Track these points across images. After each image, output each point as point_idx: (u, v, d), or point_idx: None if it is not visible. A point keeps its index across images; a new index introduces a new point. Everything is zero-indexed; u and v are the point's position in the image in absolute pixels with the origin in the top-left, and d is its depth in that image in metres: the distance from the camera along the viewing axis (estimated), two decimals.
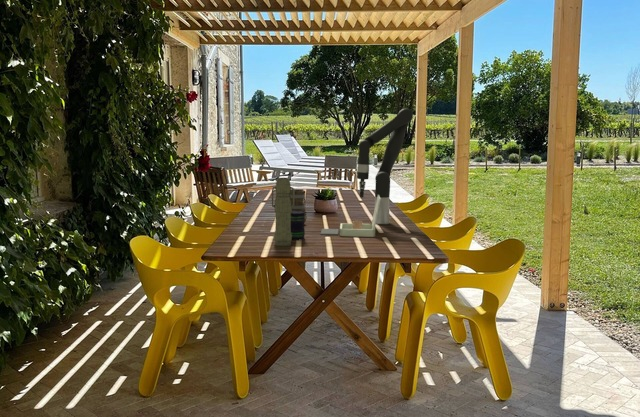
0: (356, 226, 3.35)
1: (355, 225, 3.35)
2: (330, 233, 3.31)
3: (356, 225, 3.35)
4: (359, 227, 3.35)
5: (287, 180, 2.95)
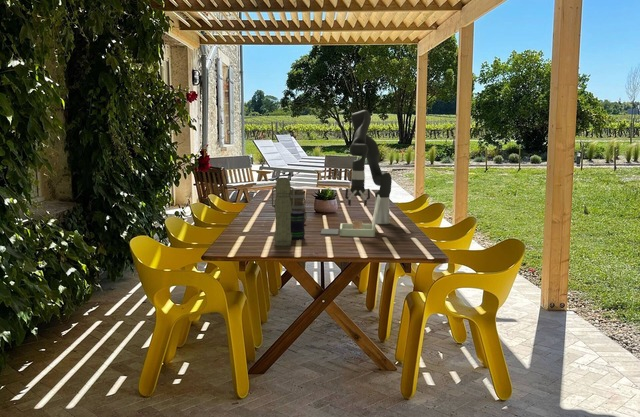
0: (356, 226, 3.35)
1: (355, 225, 3.35)
2: (330, 233, 3.31)
3: (356, 225, 3.35)
4: (359, 227, 3.35)
5: (287, 180, 2.95)
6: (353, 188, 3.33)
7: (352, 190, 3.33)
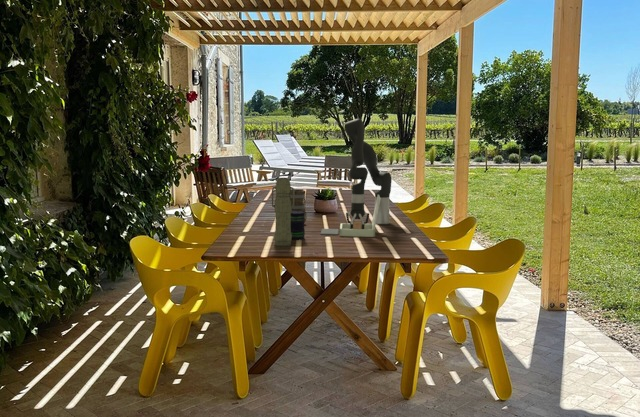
0: (356, 226, 3.35)
1: (355, 225, 3.35)
2: (330, 233, 3.31)
3: (356, 225, 3.35)
4: (359, 227, 3.35)
5: (287, 180, 2.95)
6: (353, 211, 3.35)
7: (352, 213, 3.35)
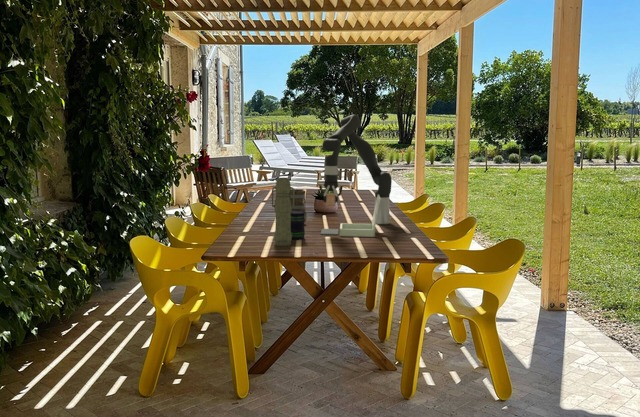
0: (329, 198, 3.33)
1: (328, 197, 3.33)
2: (330, 233, 3.31)
3: (329, 197, 3.33)
4: (332, 199, 3.33)
5: (287, 180, 2.95)
6: (326, 183, 3.33)
7: (325, 185, 3.34)
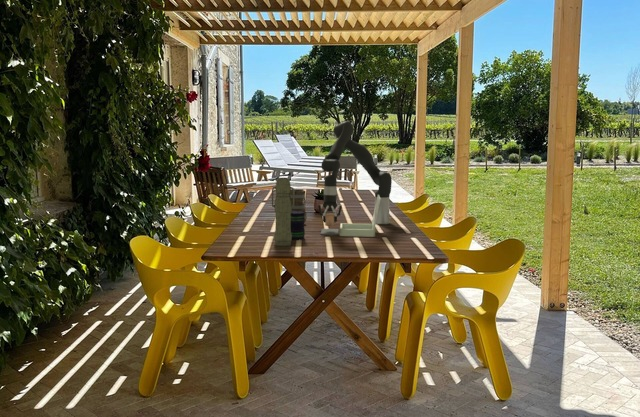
0: (328, 218, 3.35)
1: (327, 217, 3.35)
2: (330, 233, 3.31)
3: (328, 217, 3.35)
4: (331, 219, 3.35)
5: (287, 180, 2.95)
6: (325, 203, 3.35)
7: (324, 205, 3.36)
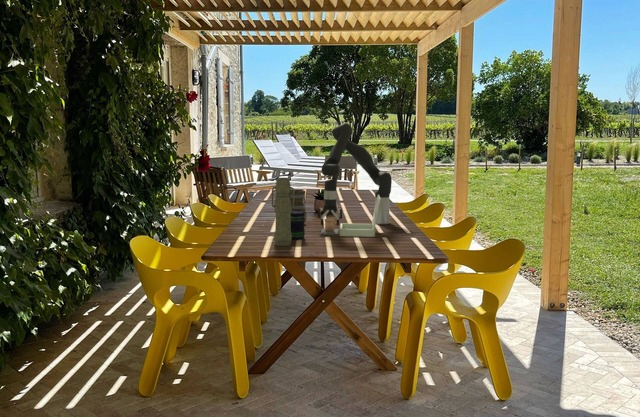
0: (328, 224, 3.35)
1: (327, 223, 3.36)
2: (330, 233, 3.31)
3: (328, 223, 3.35)
4: (331, 225, 3.36)
5: (287, 180, 2.95)
6: (325, 208, 3.36)
7: (324, 210, 3.36)
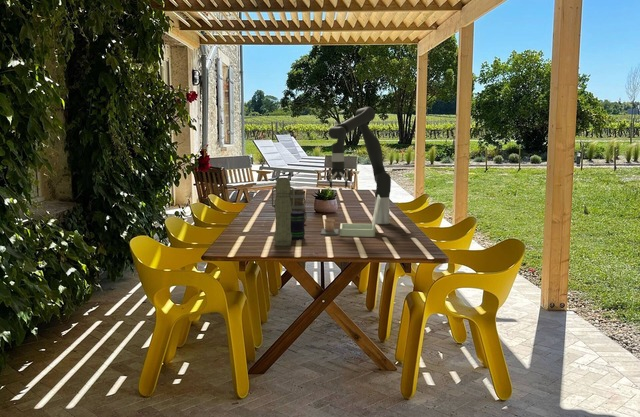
0: (328, 224, 3.35)
1: (327, 223, 3.36)
2: (330, 233, 3.31)
3: (328, 223, 3.35)
4: (331, 225, 3.36)
5: (287, 180, 2.95)
6: (334, 170, 3.44)
7: (333, 172, 3.44)
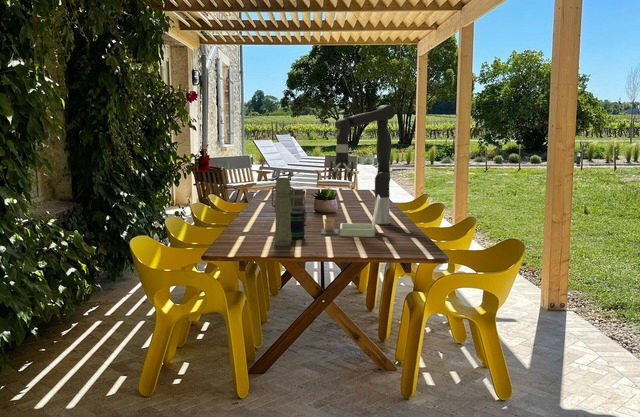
0: (328, 224, 3.35)
1: (327, 223, 3.36)
2: (330, 233, 3.31)
3: (328, 223, 3.35)
4: (331, 225, 3.36)
5: (287, 180, 2.95)
6: (337, 161, 3.54)
7: (337, 163, 3.55)
